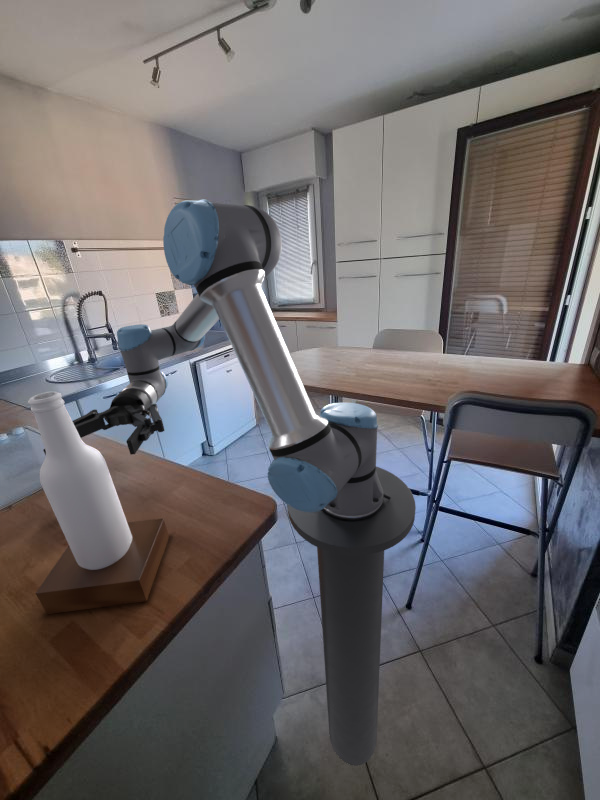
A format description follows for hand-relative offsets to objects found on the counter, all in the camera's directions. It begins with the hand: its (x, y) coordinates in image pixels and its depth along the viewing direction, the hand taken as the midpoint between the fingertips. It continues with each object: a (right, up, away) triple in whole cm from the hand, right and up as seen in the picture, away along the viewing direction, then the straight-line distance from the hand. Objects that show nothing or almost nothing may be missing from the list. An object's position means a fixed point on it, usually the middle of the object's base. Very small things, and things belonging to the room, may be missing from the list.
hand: (89, 452), depth 57 cm
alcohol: (+1, -18, +3) cm, 18 cm away
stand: (+2, -23, +4) cm, 23 cm away
